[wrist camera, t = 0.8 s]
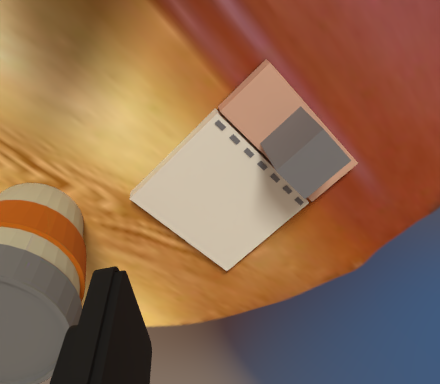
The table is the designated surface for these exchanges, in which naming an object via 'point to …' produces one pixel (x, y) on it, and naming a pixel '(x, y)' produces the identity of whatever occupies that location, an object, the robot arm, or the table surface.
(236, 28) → the table surface
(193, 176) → the white notepad
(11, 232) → the reusable coffee cup
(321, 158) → the stub
